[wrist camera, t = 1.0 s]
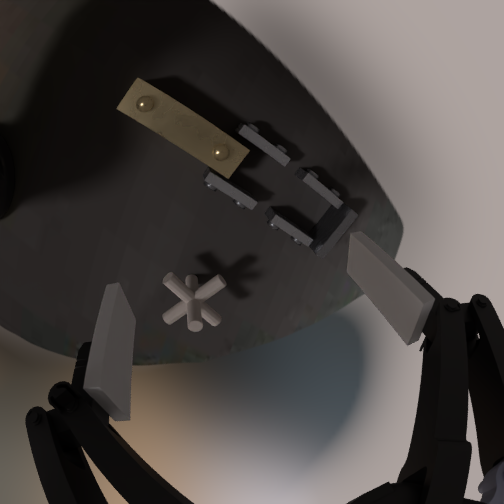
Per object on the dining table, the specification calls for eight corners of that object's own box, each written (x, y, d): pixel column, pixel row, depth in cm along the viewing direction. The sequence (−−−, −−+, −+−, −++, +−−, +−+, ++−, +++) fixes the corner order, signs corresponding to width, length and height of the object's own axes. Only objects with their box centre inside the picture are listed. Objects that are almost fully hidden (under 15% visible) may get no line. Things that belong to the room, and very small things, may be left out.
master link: (125, 108, 28) (115, 108, 24) (144, 81, 27) (136, 76, 23) (223, 170, 35) (229, 180, 31) (242, 145, 34) (251, 151, 29)
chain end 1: (261, 216, 39) (270, 230, 35) (302, 164, 36) (316, 171, 32) (308, 247, 43) (320, 262, 39) (345, 200, 40) (361, 211, 37)
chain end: (200, 178, 34) (201, 184, 32) (242, 119, 32) (247, 120, 29) (244, 205, 38) (249, 213, 35) (285, 151, 35) (293, 155, 32)
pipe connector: (195, 236, 38) (199, 277, 30) (238, 281, 43) (252, 326, 35) (144, 277, 39) (137, 323, 31) (189, 315, 45) (192, 362, 36)
